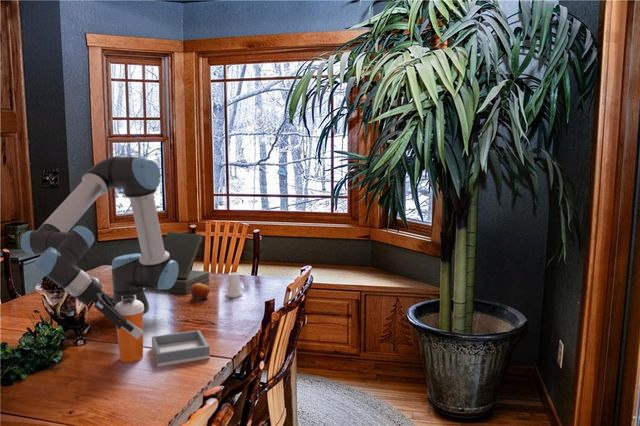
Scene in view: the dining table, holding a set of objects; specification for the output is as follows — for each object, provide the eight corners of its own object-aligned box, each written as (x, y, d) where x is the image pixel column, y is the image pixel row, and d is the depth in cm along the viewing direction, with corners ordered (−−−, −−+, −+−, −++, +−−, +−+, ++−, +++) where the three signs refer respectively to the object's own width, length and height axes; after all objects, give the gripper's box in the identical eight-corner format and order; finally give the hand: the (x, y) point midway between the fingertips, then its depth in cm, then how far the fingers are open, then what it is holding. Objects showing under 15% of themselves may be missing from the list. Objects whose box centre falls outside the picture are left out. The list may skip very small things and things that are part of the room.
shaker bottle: (118, 366, 166) (115, 303, 163) (115, 355, 173) (111, 296, 171) (148, 360, 170) (145, 299, 167) (143, 350, 178) (140, 292, 175)
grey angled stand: (144, 290, 250) (142, 237, 246) (170, 279, 268) (168, 230, 264) (186, 295, 242) (184, 240, 238) (209, 284, 260) (208, 233, 256)
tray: (152, 348, 180) (151, 336, 179) (199, 340, 186) (199, 329, 186) (158, 366, 165) (157, 354, 165) (209, 358, 172) (209, 346, 171)
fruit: (184, 297, 231) (189, 280, 234) (194, 302, 238) (199, 285, 241) (200, 300, 228) (205, 282, 231) (209, 304, 235) (214, 287, 238)
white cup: (246, 294, 242) (245, 272, 240) (234, 298, 235) (234, 276, 234) (233, 291, 246) (233, 270, 244) (222, 295, 240) (221, 274, 238)
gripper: (75, 287, 173) (127, 325, 182) (74, 308, 151) (133, 351, 160) (92, 269, 175) (143, 308, 183) (93, 288, 153) (151, 332, 161)
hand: (138, 328), depth 171 cm, fingers open, 12 cm apart
